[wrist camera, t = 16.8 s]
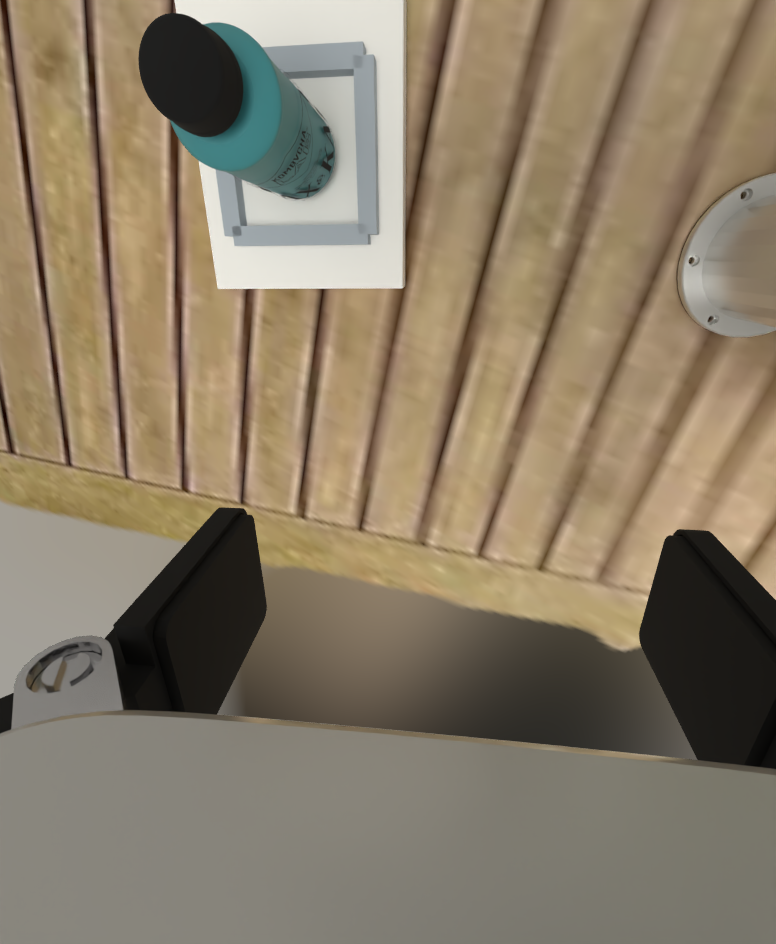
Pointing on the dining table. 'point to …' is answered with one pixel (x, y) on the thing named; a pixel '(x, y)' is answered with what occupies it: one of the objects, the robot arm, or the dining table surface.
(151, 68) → the beverage bottle
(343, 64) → the display stand
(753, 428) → the dining table surface
